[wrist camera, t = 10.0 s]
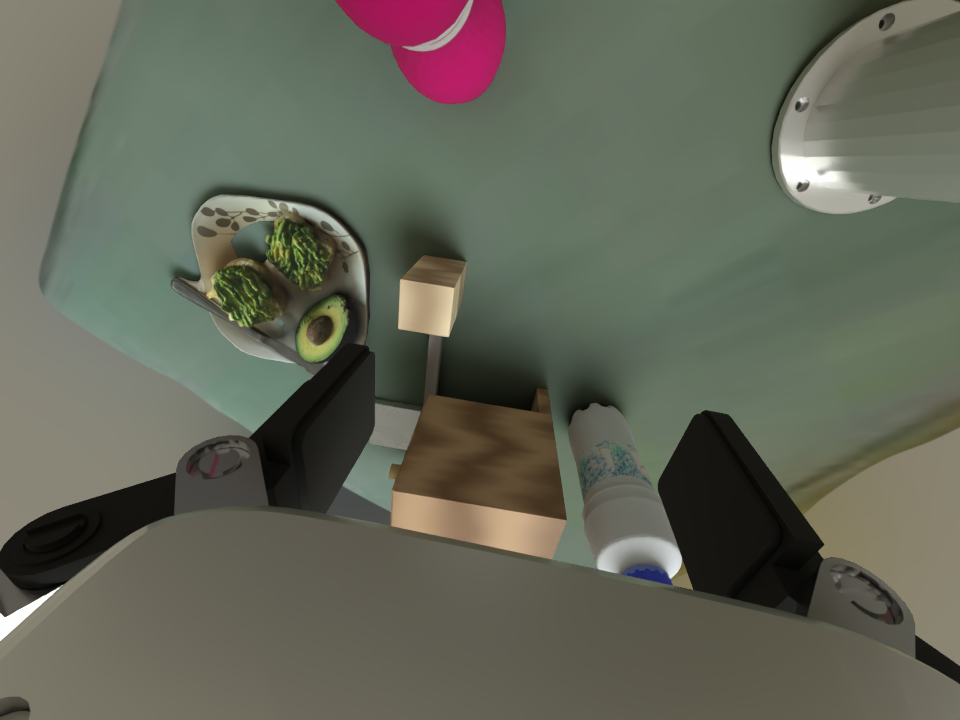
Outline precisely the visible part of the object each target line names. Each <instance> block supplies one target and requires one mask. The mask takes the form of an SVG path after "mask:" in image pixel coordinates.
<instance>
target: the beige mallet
mask: <svg viewBox="0 0 960 720" xmlns="http://www.w3.org/2000/svg"><path fill="white" fill-rule="evenodd" d="M466 265H467V262H464V261H458V260H452V259H446V258H440V257H434V256H428V255H423V256H422V257H421V258H420V259H419V260H418V261H417V262H416V264H415V265H414V266H413V267H412V268H411V269H410V270H409V271H408V272H407V273H406V274H405V275H404V276H403V277H402V278H401V279H400V299H399V323H398V329H402V330H408V331H414V332H420V333H426V334H429V344H428V356H427V367H426V379H425V390H424V402H423V405H424V403H425V402H426V401H427V398H428V395H429V394H431V395H437V393H438V384H439V374H440V365H441V356H442V346H443V337H449V335H450V333H451V330H452V327H453V325H454V322H455V319H456V317H457V314H458V311H459V309H460V306H461V303H462V296H463V288H464V280H465V273H466Z"/></svg>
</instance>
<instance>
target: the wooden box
mask: <svg viewBox="0 0 960 720" xmlns="http://www.w3.org/2000/svg"><path fill="white" fill-rule="evenodd" d="M389 479H395V483H394V486H393V488H392V501H391V523H390V526H393V527H398V528H403V529H408V530H413V531H417V532H422V533H427V534H432V535H437V536H442V537H447V538H451V539H456V540H461V541H466V542H471V543H476V544H481V545H485V546H490V547H495V548H500V549H504V550H509V551H514V552H519V553H523V554H528V555H533V556H537V557H542V558H547V559H552V558H553V555H554V552H555V550H556V547H557V545H558V542H559V539H560V537H561V534H562V532H563V529H564V527H565V524H566V521H567V518H566V511H565V504H564V497H563V490H562V484H561V477H560V470H559V463H558V456H557V449H556V442H555V435H554V428H553V422H552V415H551V408H550V401H549V394H548V390H547V389H541V388H537V389H536V393H535V397H534V401H533V404H532V408H531V411H526V410H520V409H514V408H508V407H502V406H496V405H490V404H484V403H478V402H472V401H467V400H461V399H455V398H449V397H443V396H437V395H431V394H429V395H428V398H427V401H426V402H425V403H424V405H423V408H422V411H421V413H420V416H419V419H418V421H417V424H416V427H415V430H414V432H413V435H412V438H411V440H410V443H409V446H408V448H407V451H406V454H405V456H404V459H403V462H402V464H401V465H398V464H392V465H391V468H390V472H389Z"/></svg>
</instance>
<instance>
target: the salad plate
mask: <svg viewBox="0 0 960 720" xmlns="http://www.w3.org/2000/svg"><path fill="white" fill-rule="evenodd" d="M260 221H275V223H274V227H275V228H274V232H273V235H272V236H269V235H266V237H265V241H266V242H267V243H268V244H270V248H269V249H267V251H266V253H265V254H266V256H267V260H266V261H264V262H262V263H260V262H259V261H256V260H254V259H252V258H237V255H236V254H235V251H234V248H233V245H232V242H231V240H232V239H233V237H234V236H235V235H236V233H237V232H238V231H240V230H241V229H243V228H244V227H246V226H247V225H249V224H251V223H255V222H260ZM192 239H193V243H194V248H195V251H196V256H197V260H198V263H199V268H200V272H201V278H200V280H199V281H190V280H187V279H184V278H181V277H176V278H174V279H172V280H171V282H170V285H171V288H172V289H173V290H174V291H175V292H177V293H178V294H180V295H181V296H183V297H185V298H186V299H188V300H190V301H191V302H193V303H195V304H197V305H199V306H200V307H202V308H204V309H206V310H207V311H209V312H210V314H211V317H212V319H213V321H214V323H215V324H216V326H217V328H218V329H219V330H220V332H221V333H222V334H223V335H224V336H225V337H226V338H227V339H228V340H229V341H230V342H231V343H232V344H233V345H235V346H236V347H237V348H238V349H240V350H241V351H243V352H245V353H247V354H249V355H253V356H257V357H260V358H264V359H271V360H277V361H283V362H289V363H296V364H298V365H300V366H302V367H304V368H306V370H307V371H308V372H310V373H312V374H313V375H315V374H316V373H317V372H318V371H319V370H320V369H321V368H322V367H323V366H324V365H325V364H326V363H327V362H328V361H329V360H330V359H331V358H332V357H333V356H334V355H335V354H336V353H337V352H338V351H339V350H340V349H341V348H342V347H343V346H344V345H345V344H346V343H355V344H360V345H365V343H366V338H367V333H368V322H369V318H370V311H369V293H370V272H369V265H368V259H367V254H366V251H365V249H364V247H363V245H362V244H361V243H360V241H359V240H358V238H357V237H356V236H355V235H354V234H353V232H352V231H351V230H350V229H349V228H348V227H347V226H346V224H345V223H343V222H342V221H341V220H339V219H338V218H337V217H336V216H334V215H333V214H331V213H330V212H328V211H326V210H324V209H321V208H319V207H317V206H315V205H312V204H309V203H306V202H301V201H284V200H277V199H270V198H262V197H256V196H245V195H228V194H221V195H218V196H214V197H212V198H210V199H209V200H207V201H206V202H204V204H203V205H202V206H201V207H200V209H199V210H198V212H197V213H196V214H195V216H194V217H193V220H192ZM343 269H344V271H343ZM278 319H281V320H282V321H283V322H284V326H283V327H281V326H279V325H278V324H277V320H278Z"/></svg>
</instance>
